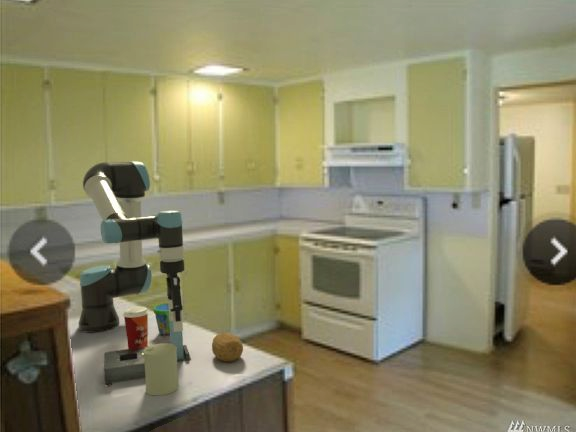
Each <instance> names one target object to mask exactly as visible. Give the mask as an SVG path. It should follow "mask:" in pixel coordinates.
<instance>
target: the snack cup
mask: <svg viewBox="0 0 576 432" xmlns="http://www.w3.org/2000/svg"><path fill="white" fill-rule="evenodd" d="M182 307H183V305H182ZM153 312H154V314H155V320H156V321H155V322H156V324H157V329H158V330H157V331H158V332H159V334H160V335H161V336H165V337H166V336H169V337H170V328H169V306H168V302H167V303H165V302H164V303H160V304H157V305H156V306H154V307H153Z"/></svg>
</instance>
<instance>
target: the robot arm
mask: <svg viewBox="0 0 576 432" xmlns="http://www.w3.org/2000/svg"><path fill="white" fill-rule="evenodd" d="M150 186H151V180H150V175H149V171H148V169H147V166H146V165H145V164H144V163H143V162H141V161H133V160H130V161H113V162H109V161H108V162H107V161H105V162H100V163H97V164H94V165H93V166H91V168H90V167H89V169H88V171H86V173H85V174H84V177H83V181H82V187H83V190H84V193H85V194H86V195H87V197H89V198H91V200H92V203H94V207H95V208H96V211H98V213H99V216H100V218H101V223H100V236H101V240H102V242H104V243H105V244H119V259H118V260H117V261H116V263H115V265H116V266H115V267H114V268H112V267H111V265H108V264H105V265H96V266H93V267H90V268H87V269H86V270H83V271H82V272H81V273H80V274H79V286H80V296H81V306H82V307H81V313H80V315H79V316H80V317H79V320H78V330H79V331H80V332H84V333H85V332H86V333H98V332H99V333H100V332H104V331H109V330H112V329H114V328H117V327H118V326H119V325H120V316H119V314H118V312H117V311H116V307H115V303H114V299H115V298H116V299H117V298H122V297H126V296H127V297H128V296H133V295H137V296H138V295H139V294H144V293H146V292H148V290H149V289H150V287H151V286H152V278H153V277H152V268H151V266H150V265H149V263H147V260H145V258H144V257H143V241H144V240H145V241H146V240H154V239H158V240H157V241H158V250H157V252H156V253H157V254H159V259H160V261H159V271H160V273H162V274H164V275H166V278H165V280H166V292H167V293H166V296H167V299H168V300H167V303H168V306H169V315H171V314H173V327H174V332H176V331H182V332H183V331H184V325H183V313H182V312H183V309H184V308H183V307H182V306H183V304H182V293H181V278H180V276H179V275H178V273H183V272H184V271H185V260H184V259H183V258H184V257H185V253H184V240H183V239H184V238H183V237H184V236H183V220H182V219H183V218H182V213H181V212H180V210H161V211H159V212H158V213H157V214H151V215H149V216H142V200H143V199H144V198H145V197H146V193H145V192H148V191H149V190H150Z"/></svg>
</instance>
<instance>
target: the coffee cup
mask: <svg viewBox="0 0 576 432" xmlns="http://www.w3.org/2000/svg"><path fill="white" fill-rule="evenodd" d="M149 313H150V312H149V310H148V308H147V307H145V306H132V307H127V308H126V309H124V311H123V314H122V316H123V318H124V326H125V332H126V333H125V334H126V342H127V349H132V348H140V347H147V346H148V344H149V342H148V341H149V340H148V336H149V335H148V329H149V328H148V325H149V324H148V323H149V321H148V318H149V317H148V314H149Z"/></svg>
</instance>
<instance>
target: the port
mask: <svg viewBox="0 0 576 432" xmlns="http://www.w3.org/2000/svg"><path fill="white" fill-rule="evenodd" d="M149 346H150V345H149ZM149 346H147V347H149ZM147 347H140V348H132V349H128V348H126V349H120V350H119V349H118V350H112V351H105V352H104V354H103V355H104V359H103V377H104V386H105V387H106V386H107V385H108V386H112V385H113V384H114V383H121V382H126V381H133V380H140V379H146V377H145V362H144V352H143V351H144V349H145V348H147ZM108 386H107V387H108Z"/></svg>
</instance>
